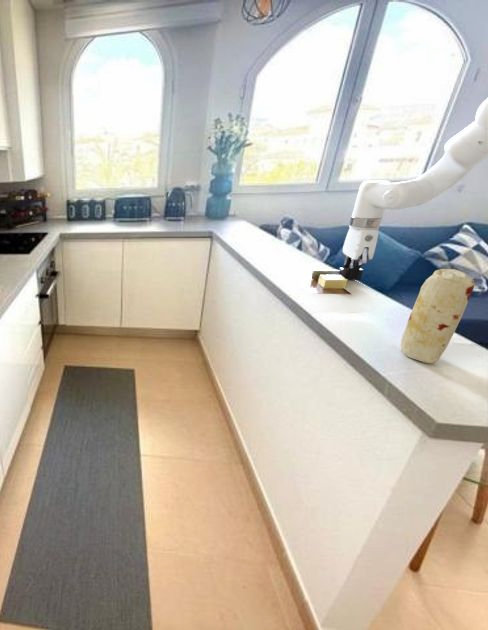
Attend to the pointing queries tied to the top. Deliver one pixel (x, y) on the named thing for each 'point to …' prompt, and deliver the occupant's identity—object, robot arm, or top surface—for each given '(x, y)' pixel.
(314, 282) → the board
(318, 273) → the knife
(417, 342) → the food model
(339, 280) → the butter block
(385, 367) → the top surface
